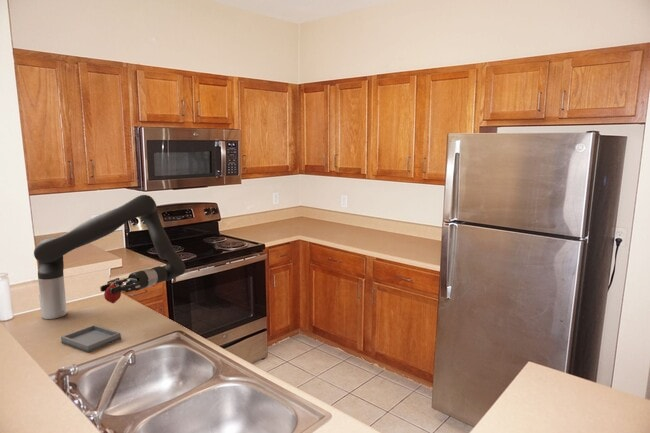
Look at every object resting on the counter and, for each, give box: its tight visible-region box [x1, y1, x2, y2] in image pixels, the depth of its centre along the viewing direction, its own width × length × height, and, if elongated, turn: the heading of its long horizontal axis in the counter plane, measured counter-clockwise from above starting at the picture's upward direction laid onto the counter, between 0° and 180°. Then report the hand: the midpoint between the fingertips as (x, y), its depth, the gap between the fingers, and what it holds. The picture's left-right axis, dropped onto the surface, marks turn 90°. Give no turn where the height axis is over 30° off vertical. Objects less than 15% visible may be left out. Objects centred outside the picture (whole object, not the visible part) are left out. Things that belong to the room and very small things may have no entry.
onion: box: [103, 283, 122, 304], centre depth 169 cm, size 6×6×8 cm
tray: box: [60, 324, 122, 354], centre depth 162 cm, size 16×13×2 cm
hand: (106, 290), depth 166 cm, fingers closed on onion, 5 cm apart
